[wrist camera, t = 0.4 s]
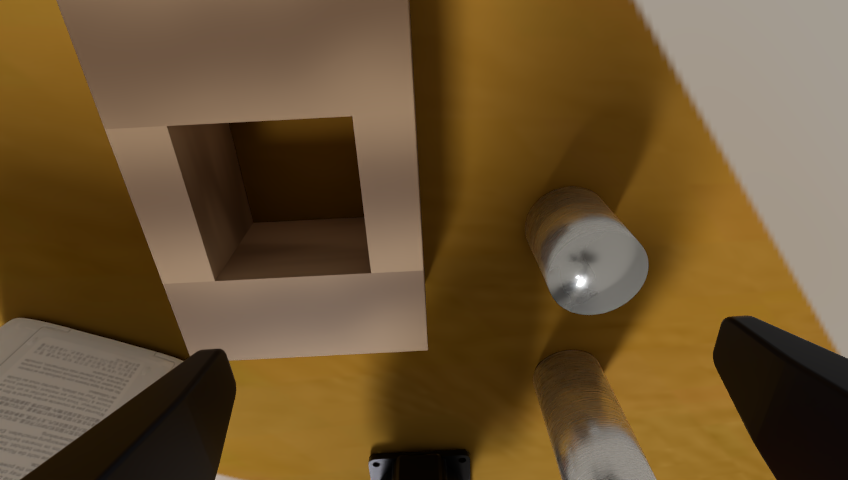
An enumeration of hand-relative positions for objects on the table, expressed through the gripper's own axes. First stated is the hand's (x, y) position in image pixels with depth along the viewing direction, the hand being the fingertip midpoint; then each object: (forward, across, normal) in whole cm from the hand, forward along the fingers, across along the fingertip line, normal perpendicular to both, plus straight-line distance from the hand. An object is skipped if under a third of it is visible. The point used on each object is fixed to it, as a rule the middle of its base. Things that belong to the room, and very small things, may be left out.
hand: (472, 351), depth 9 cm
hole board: (+14, +6, 0) cm, 15 cm away
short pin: (+14, -6, +4) cm, 16 cm away
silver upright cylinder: (+14, -7, +14) cm, 21 cm away
